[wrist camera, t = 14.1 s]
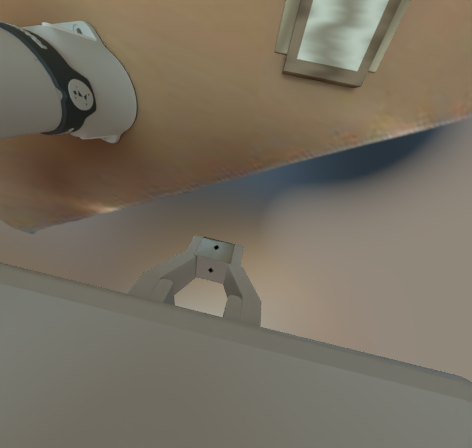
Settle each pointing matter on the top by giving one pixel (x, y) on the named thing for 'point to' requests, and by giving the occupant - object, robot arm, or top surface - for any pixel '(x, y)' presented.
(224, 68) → the top surface
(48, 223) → the top surface
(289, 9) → the beige square tray
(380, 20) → the walnut picture frame
